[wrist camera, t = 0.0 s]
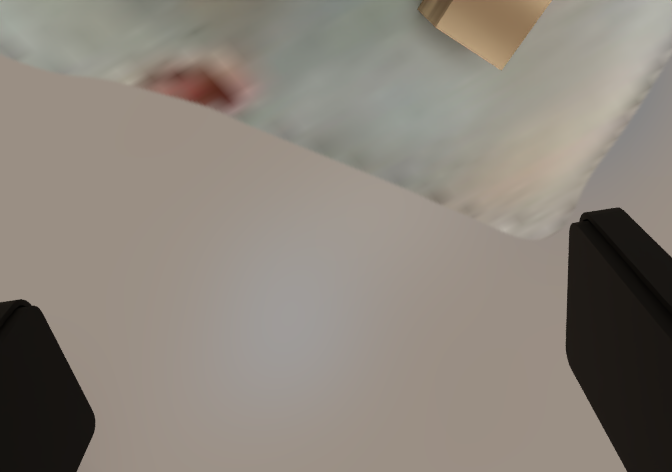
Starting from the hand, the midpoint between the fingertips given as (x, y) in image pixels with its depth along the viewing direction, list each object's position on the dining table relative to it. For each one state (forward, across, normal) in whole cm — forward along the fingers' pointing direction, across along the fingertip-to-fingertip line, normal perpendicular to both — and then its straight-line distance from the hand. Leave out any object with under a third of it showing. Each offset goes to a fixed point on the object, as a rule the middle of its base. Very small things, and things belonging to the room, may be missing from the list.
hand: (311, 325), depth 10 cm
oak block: (+31, -10, 0) cm, 33 cm away
